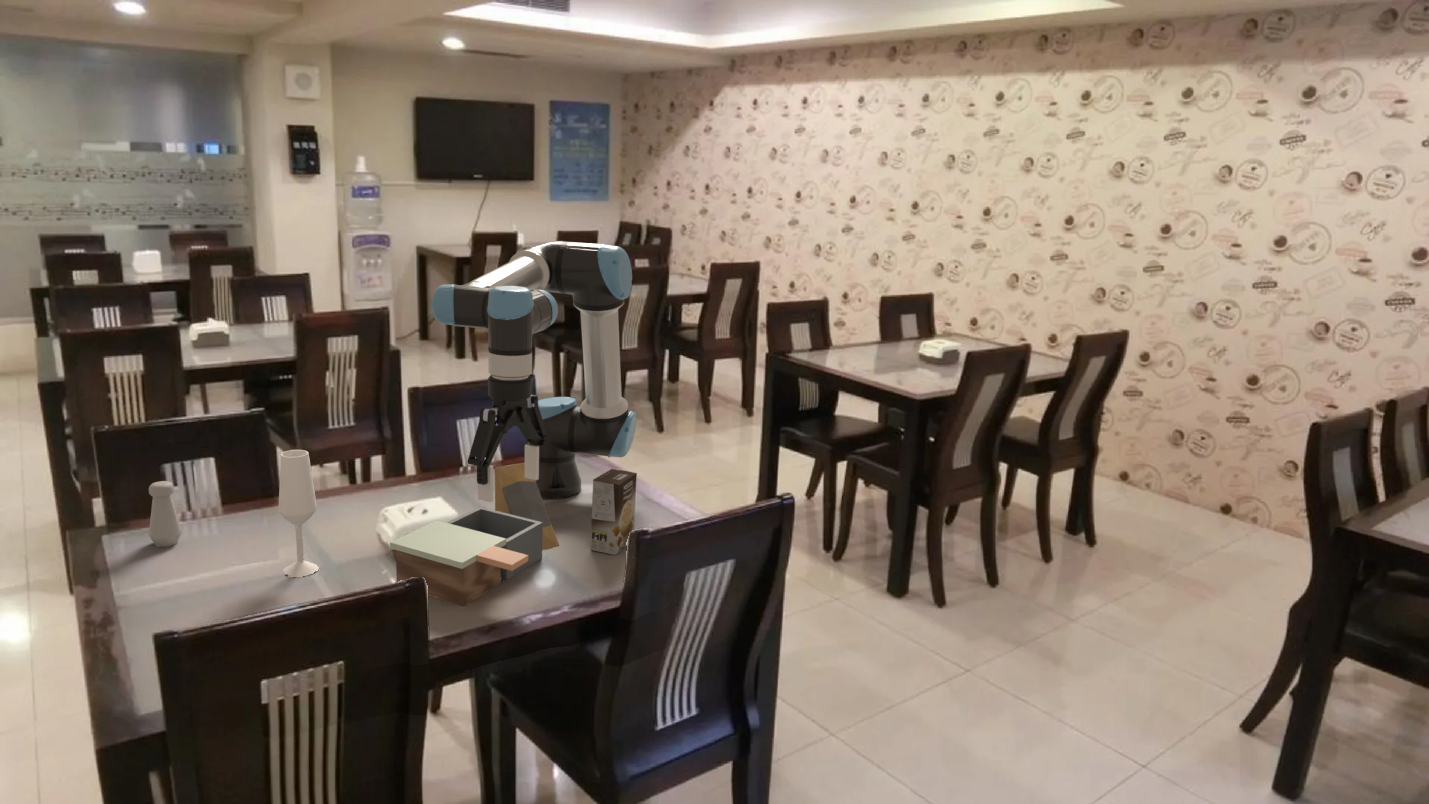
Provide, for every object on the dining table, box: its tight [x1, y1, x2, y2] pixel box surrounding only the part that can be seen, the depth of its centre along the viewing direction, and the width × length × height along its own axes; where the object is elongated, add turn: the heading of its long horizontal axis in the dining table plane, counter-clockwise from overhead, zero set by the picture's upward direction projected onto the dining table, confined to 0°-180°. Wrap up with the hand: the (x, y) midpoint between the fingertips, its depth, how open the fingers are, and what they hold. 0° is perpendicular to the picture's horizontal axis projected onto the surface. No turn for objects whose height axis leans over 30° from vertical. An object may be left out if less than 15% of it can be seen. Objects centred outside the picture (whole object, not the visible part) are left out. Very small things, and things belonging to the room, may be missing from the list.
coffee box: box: [589, 468, 638, 556], centre depth 198 cm, size 9×6×16 cm
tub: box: [446, 506, 543, 580], centre depth 188 cm, size 12×16×8 cm
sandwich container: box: [494, 462, 561, 551], centre depth 199 cm, size 9×15×15 cm, turn 38°
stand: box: [395, 550, 502, 607], centre depth 176 cm, size 11×16×8 cm
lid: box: [389, 519, 528, 571], centre depth 173 cm, size 13×25×1 cm, turn 66°
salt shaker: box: [148, 480, 183, 548], centre depth 185 cm, size 6×6×13 cm
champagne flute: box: [278, 449, 320, 578], centre depth 176 cm, size 7×7×24 cm
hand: (509, 489), depth 166 cm, fingers open, 13 cm apart
